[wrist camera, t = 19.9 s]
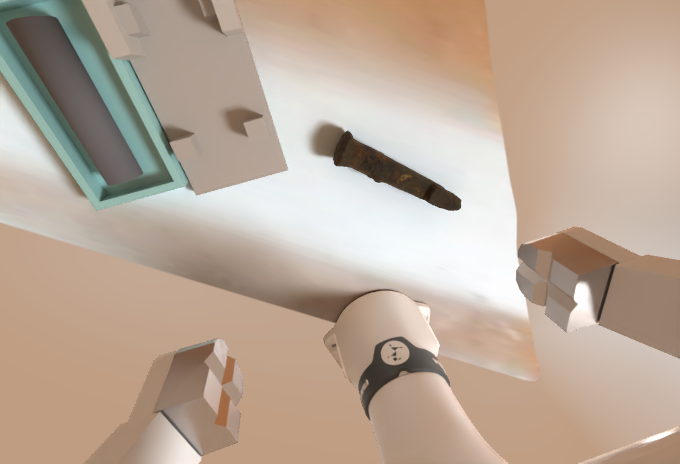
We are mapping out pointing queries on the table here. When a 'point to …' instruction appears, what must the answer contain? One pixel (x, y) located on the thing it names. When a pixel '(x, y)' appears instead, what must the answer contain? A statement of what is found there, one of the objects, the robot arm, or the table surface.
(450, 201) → the hand tool
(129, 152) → the dark grey cylinder
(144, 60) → the cradle
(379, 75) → the table surface
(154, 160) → the tray
